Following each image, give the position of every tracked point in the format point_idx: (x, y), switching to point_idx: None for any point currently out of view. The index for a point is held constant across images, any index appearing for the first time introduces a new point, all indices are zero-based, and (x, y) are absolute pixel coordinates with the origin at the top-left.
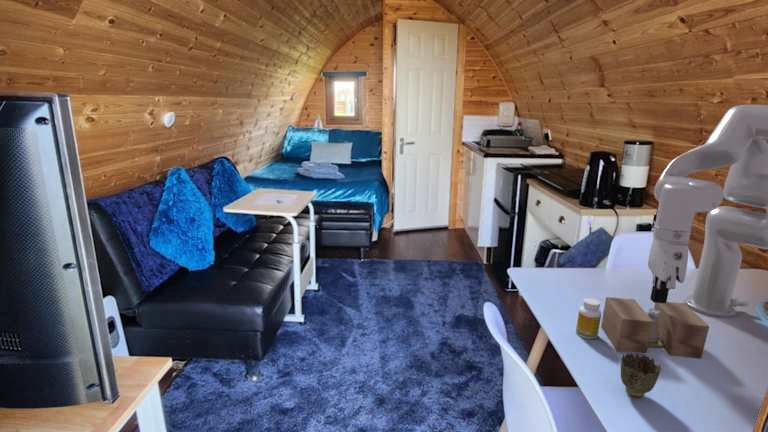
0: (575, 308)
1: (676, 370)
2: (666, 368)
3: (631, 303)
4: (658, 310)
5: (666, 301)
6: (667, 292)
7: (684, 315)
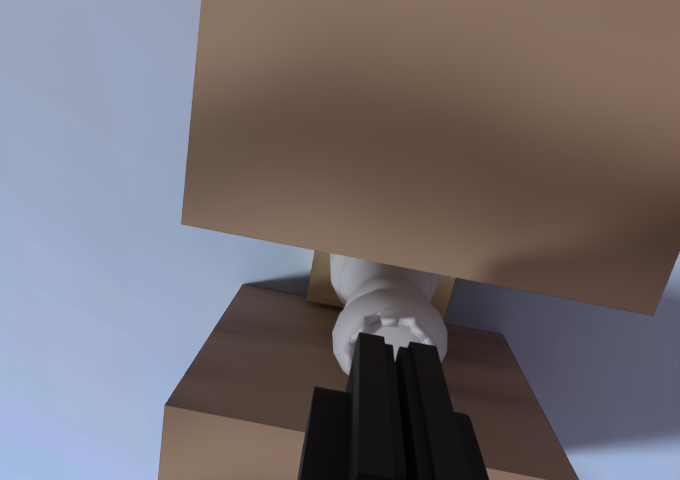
0: (27, 444)
1: (671, 276)
2: (644, 316)
3: (251, 471)
4: (390, 326)
5: (436, 350)
6: (460, 454)
7: (510, 126)
